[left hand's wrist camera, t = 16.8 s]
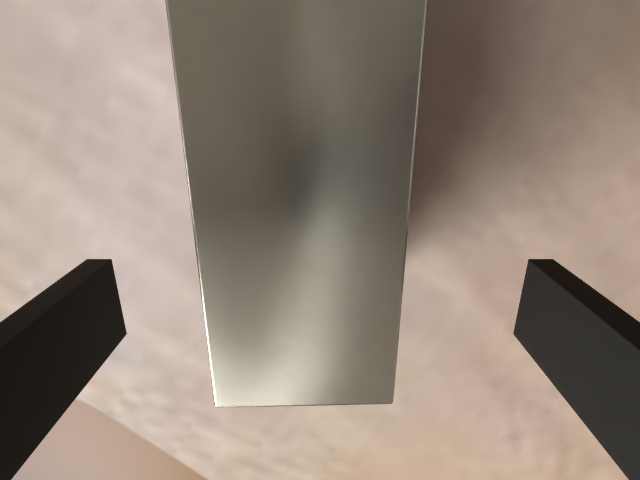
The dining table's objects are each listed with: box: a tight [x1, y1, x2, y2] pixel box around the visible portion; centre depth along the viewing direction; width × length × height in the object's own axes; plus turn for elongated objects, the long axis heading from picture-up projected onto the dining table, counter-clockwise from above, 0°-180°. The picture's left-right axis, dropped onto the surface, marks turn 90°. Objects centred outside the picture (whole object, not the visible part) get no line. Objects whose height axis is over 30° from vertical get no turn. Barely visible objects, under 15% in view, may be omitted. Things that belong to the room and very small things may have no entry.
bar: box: [165, 0, 428, 407], centre depth 13 cm, size 25×6×9 cm, turn 0°
